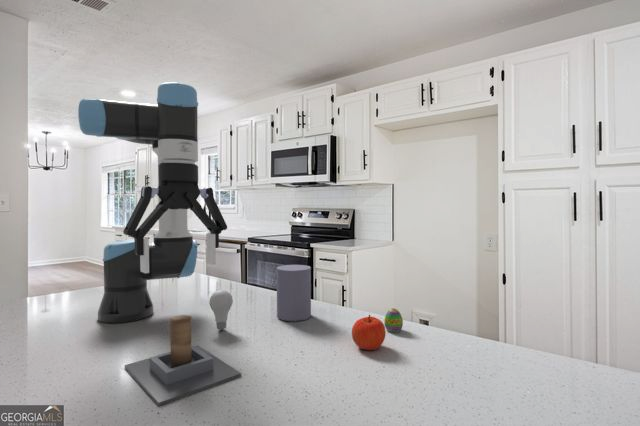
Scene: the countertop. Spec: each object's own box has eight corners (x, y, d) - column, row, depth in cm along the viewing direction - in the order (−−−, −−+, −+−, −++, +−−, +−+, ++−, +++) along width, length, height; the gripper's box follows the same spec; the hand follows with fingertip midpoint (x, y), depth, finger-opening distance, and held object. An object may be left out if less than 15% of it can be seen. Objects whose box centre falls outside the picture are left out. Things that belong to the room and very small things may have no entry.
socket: (124, 367, 78) (124, 354, 78) (197, 347, 89) (197, 335, 89) (158, 406, 63) (158, 389, 63) (241, 376, 74) (241, 361, 74)
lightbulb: (226, 335, 97) (226, 293, 97) (205, 333, 98) (205, 292, 98) (236, 327, 103) (236, 288, 103) (216, 325, 104) (215, 287, 104)
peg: (167, 366, 76) (167, 318, 76) (186, 360, 79) (186, 314, 79) (175, 372, 73) (175, 322, 73) (195, 366, 76) (194, 318, 76)
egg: (406, 330, 101) (406, 308, 100) (396, 335, 97) (396, 312, 97) (390, 326, 104) (390, 305, 104) (380, 330, 100) (380, 308, 100)
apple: (388, 343, 91) (388, 311, 91) (382, 356, 84) (382, 321, 83) (356, 339, 94) (356, 308, 94) (348, 351, 86) (348, 317, 86)
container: (270, 319, 110) (270, 269, 110) (286, 310, 120) (286, 263, 119) (302, 323, 106) (302, 271, 106) (316, 313, 116) (316, 265, 115)
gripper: (115, 156, 64) (117, 279, 64) (242, 165, 81) (243, 262, 81) (104, 160, 69) (106, 273, 70) (225, 167, 86) (226, 258, 87)
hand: (179, 267), depth 76 cm, fingers open, 13 cm apart
